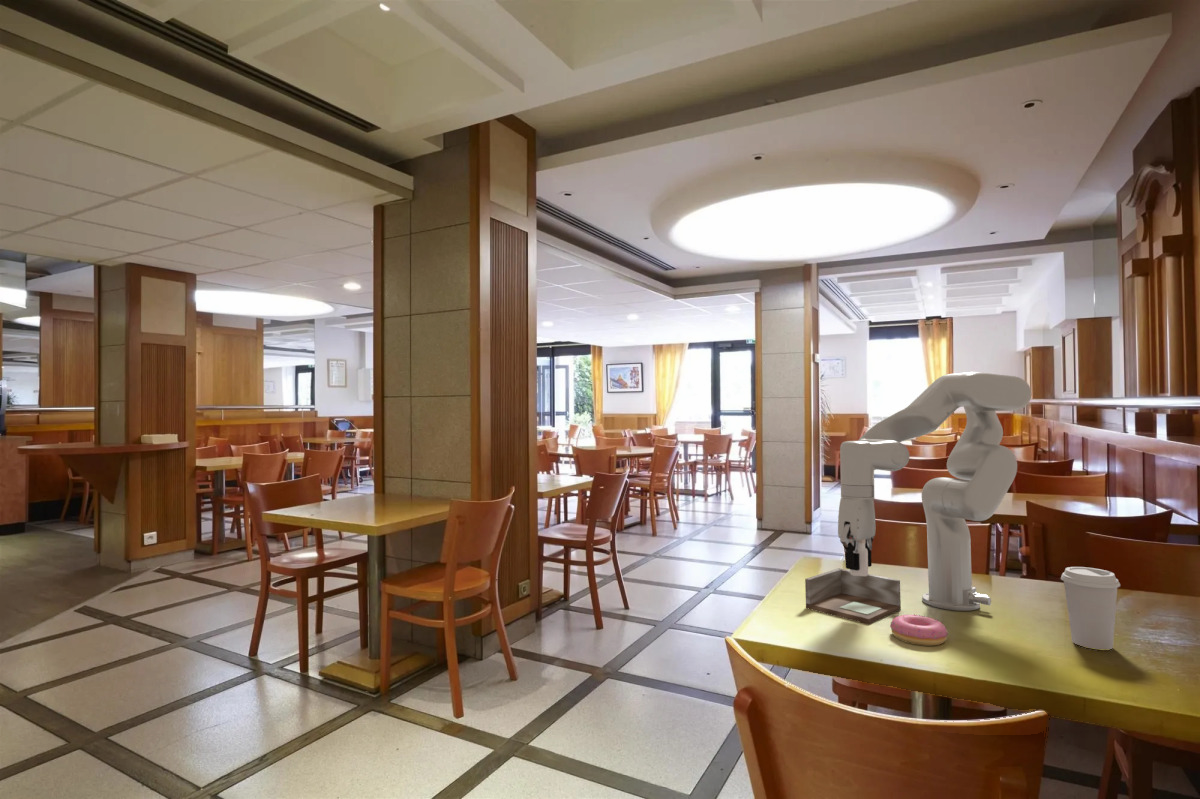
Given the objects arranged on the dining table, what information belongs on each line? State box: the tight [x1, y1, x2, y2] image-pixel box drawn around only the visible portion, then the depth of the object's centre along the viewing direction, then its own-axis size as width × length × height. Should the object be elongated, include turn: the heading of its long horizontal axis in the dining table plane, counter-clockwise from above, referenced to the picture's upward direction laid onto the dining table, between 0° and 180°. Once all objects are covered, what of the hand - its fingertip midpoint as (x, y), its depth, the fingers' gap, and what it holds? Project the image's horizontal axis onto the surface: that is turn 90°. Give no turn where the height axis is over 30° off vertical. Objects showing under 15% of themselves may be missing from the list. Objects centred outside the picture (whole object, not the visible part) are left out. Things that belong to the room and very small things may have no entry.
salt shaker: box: [849, 537, 869, 577], centre depth 147 cm, size 4×4×10 cm
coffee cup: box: [1060, 566, 1121, 650], centre depth 125 cm, size 10×10×15 cm
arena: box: [804, 568, 902, 625], centre depth 150 cm, size 16×16×7 cm
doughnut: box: [889, 614, 949, 647], centre depth 130 cm, size 11×11×4 cm
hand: (858, 566), depth 147 cm, fingers closed on salt shaker, 5 cm apart
